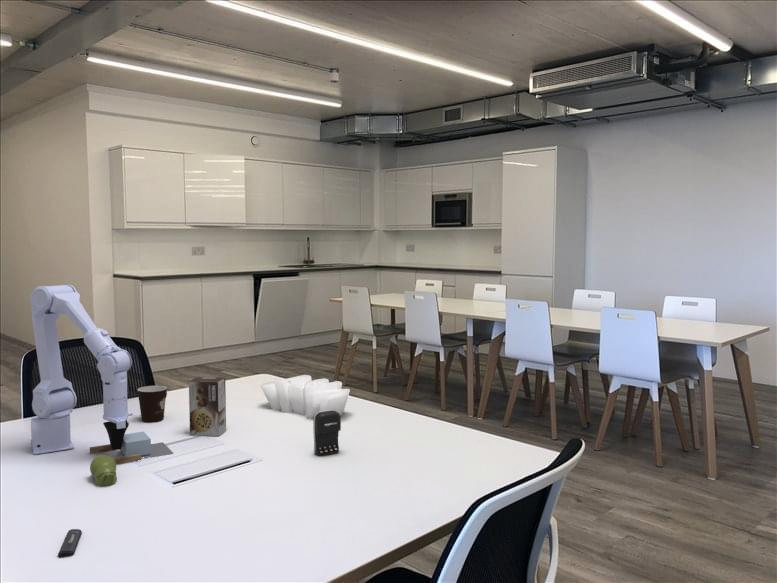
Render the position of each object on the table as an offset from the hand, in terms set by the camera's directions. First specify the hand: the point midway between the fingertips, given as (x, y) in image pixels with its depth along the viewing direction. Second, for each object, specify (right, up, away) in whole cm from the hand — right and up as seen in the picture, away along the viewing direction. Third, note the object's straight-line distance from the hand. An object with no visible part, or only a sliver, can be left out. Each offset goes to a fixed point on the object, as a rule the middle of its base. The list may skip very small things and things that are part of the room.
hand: (116, 449), depth 163 cm
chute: (0, -2, 0) cm, 2 cm away
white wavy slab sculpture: (+44, 0, +46) cm, 64 cm away
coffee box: (+18, -1, +21) cm, 28 cm away
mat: (+8, -2, +5) cm, 9 cm away
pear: (+4, -4, -16) cm, 17 cm away
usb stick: (+12, -6, -48) cm, 50 cm away
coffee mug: (-3, 0, +36) cm, 36 cm away
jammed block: (+4, -2, +3) cm, 5 cm away
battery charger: (+55, -3, +4) cm, 55 cm away
